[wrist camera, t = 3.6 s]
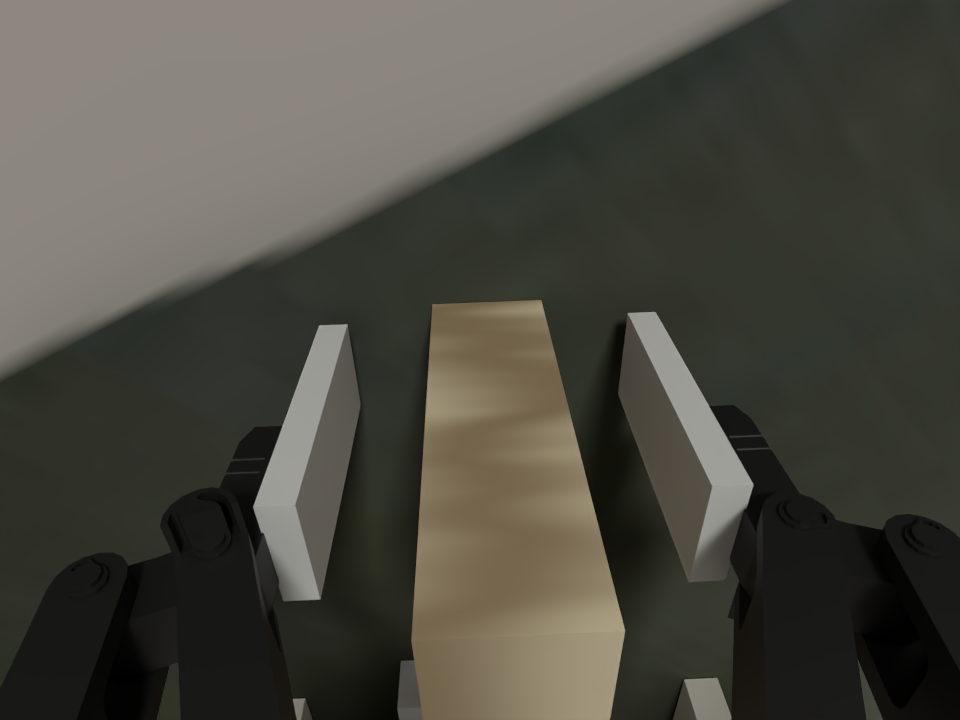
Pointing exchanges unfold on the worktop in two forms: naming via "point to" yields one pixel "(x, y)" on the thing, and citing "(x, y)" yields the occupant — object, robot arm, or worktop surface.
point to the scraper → (506, 534)
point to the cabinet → (695, 716)
